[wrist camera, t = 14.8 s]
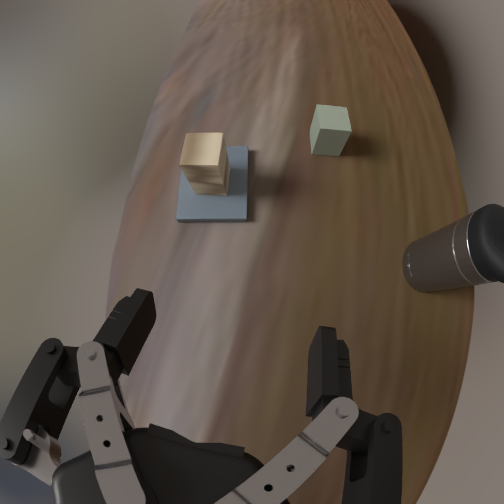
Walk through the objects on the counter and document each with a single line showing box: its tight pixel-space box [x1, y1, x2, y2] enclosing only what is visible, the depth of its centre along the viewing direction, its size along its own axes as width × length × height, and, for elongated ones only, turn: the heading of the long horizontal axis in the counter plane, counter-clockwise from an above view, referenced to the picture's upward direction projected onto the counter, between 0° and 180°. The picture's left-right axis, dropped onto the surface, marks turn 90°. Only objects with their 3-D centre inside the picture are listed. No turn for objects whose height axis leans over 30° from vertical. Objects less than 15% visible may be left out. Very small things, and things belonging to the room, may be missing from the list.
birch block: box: [179, 133, 230, 196], centre depth 38 cm, size 5×5×10 cm
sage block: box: [310, 105, 352, 156], centre depth 42 cm, size 5×5×8 cm
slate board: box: [176, 146, 248, 222], centre depth 44 cm, size 11×13×2 cm
